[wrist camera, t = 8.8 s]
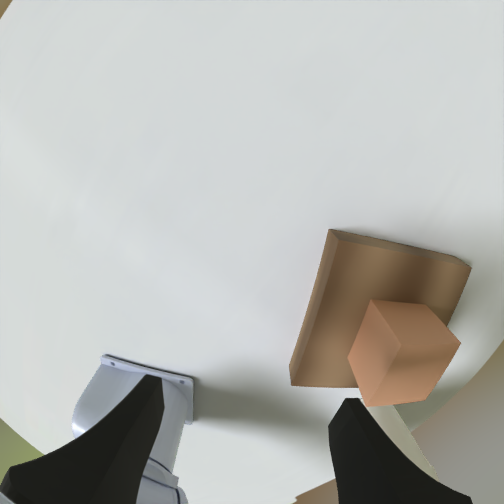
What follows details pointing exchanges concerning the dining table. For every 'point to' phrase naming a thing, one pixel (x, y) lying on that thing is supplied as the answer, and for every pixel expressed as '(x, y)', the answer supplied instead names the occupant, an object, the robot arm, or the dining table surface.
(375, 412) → the foam cup
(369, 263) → the walnut plinth
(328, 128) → the dining table surface
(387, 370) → the terracotta block
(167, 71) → the dining table surface
